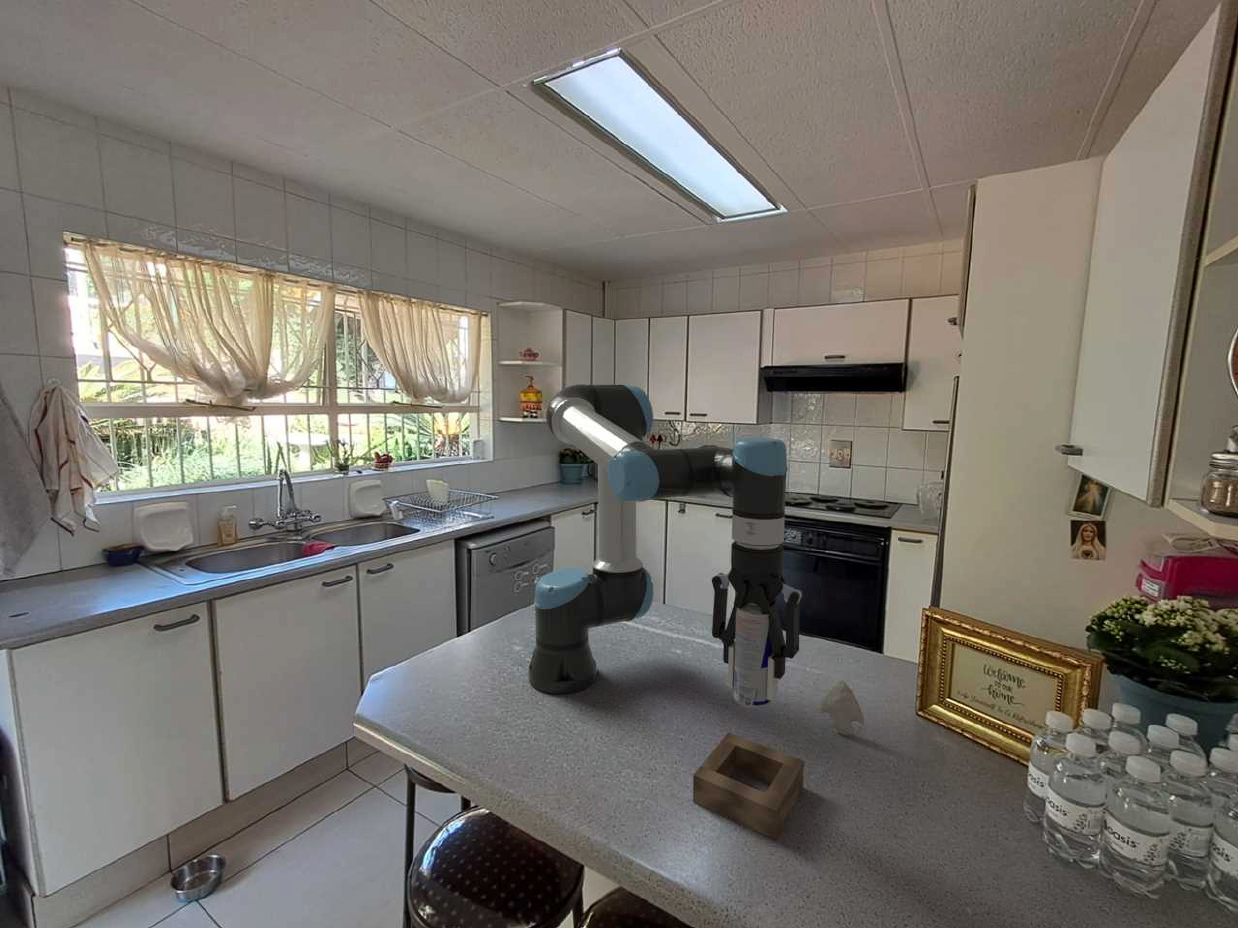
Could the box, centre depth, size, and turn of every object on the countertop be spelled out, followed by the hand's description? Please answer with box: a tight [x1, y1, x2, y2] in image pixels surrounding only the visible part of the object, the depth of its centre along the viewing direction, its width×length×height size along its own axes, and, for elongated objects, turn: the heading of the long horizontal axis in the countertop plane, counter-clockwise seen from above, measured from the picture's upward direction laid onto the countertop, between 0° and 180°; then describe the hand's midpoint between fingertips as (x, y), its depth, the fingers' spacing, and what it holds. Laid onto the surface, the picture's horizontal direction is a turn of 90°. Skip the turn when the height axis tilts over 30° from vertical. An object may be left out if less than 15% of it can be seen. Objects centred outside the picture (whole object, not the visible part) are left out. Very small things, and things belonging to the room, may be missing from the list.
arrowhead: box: [819, 680, 865, 737], centre depth 102 cm, size 8×3×10 cm, turn 54°
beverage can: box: [733, 603, 773, 710], centre depth 83 cm, size 6×6×15 cm
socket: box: [692, 732, 805, 841], centre depth 86 cm, size 13×13×4 cm
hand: (752, 689), depth 84 cm, fingers closed on beverage can, 5 cm apart
